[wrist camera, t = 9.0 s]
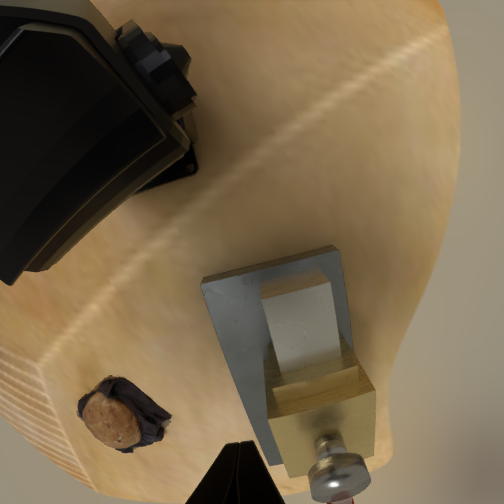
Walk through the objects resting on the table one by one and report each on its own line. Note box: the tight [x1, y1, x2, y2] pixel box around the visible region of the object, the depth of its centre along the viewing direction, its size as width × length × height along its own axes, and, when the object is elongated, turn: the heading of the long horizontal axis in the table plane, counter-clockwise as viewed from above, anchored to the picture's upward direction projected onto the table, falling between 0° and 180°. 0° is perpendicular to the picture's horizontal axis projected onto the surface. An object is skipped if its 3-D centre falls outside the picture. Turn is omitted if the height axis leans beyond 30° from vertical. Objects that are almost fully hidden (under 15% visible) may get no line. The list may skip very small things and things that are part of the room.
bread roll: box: [77, 375, 171, 453], centre depth 21 cm, size 11×8×4 cm
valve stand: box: [200, 245, 376, 478], centre depth 17 cm, size 9×20×9 cm, turn 14°
